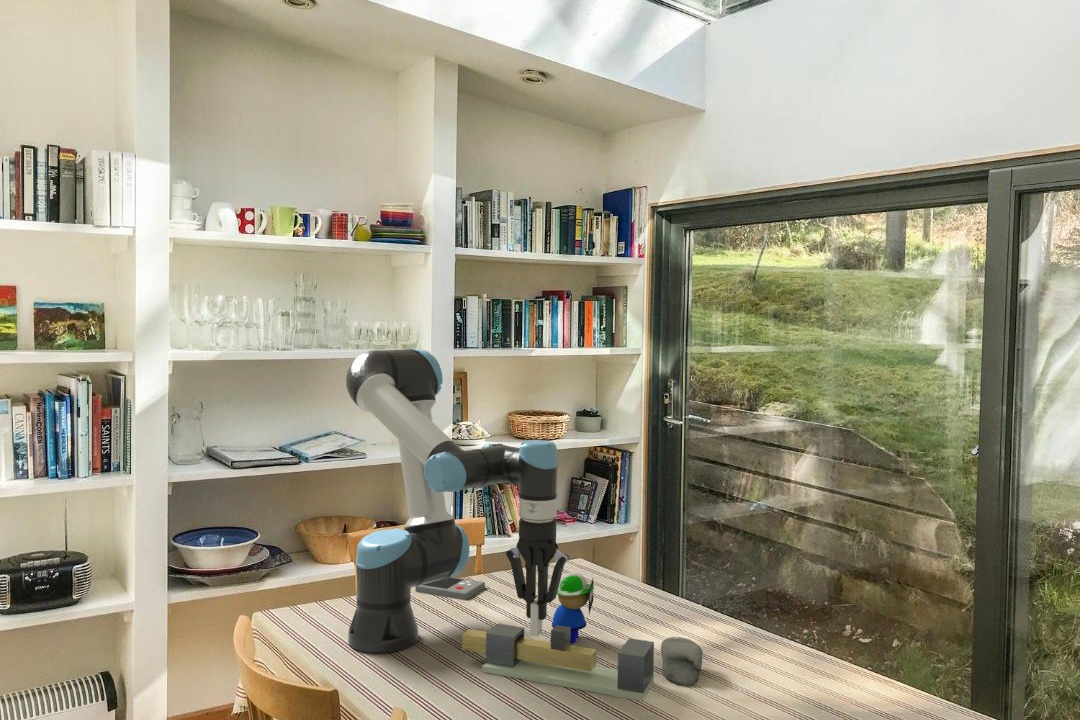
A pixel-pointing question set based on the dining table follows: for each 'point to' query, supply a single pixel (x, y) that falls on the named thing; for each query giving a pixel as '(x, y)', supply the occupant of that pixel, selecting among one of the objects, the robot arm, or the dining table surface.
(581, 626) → the toy
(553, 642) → the sliding bolt
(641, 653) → the socket block
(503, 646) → the guide sleeve
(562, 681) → the base plank
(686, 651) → the stone
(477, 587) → the electronic device
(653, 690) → the dining table surface
